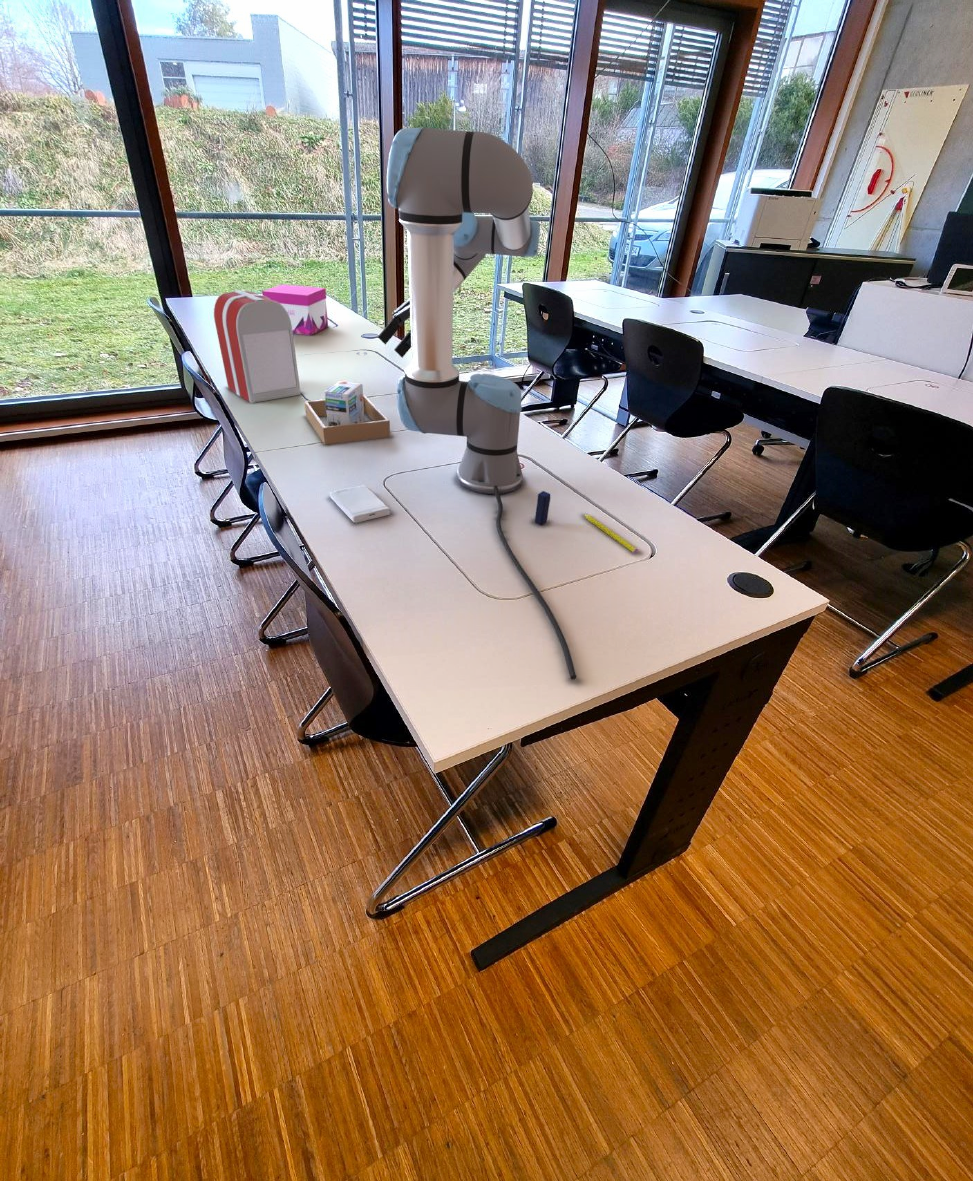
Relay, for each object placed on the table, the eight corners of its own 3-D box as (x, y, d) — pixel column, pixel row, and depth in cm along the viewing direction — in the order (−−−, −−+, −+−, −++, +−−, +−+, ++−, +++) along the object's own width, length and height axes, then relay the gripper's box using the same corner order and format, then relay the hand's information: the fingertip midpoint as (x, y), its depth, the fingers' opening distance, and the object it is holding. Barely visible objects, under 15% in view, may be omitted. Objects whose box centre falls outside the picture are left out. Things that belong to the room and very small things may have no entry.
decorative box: (268, 331, 242) (261, 291, 234) (288, 322, 258) (283, 284, 249) (311, 335, 240) (307, 295, 232) (329, 326, 256) (325, 288, 247)
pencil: (637, 552, 115) (638, 548, 114) (633, 553, 115) (634, 549, 114) (585, 516, 126) (586, 511, 126) (581, 516, 126) (582, 512, 125)
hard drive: (329, 491, 125) (353, 516, 117) (365, 484, 129) (390, 507, 121) (330, 498, 126) (353, 523, 118) (365, 490, 130) (390, 514, 122)
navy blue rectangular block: (539, 519, 124) (543, 489, 120) (547, 522, 123) (551, 493, 119) (533, 522, 122) (536, 493, 118) (541, 526, 121) (545, 496, 117)
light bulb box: (351, 435, 156) (347, 394, 149) (327, 431, 157) (323, 391, 150) (365, 421, 164) (363, 382, 158) (343, 418, 165) (339, 380, 159)
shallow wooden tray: (390, 436, 156) (389, 420, 154) (324, 445, 149) (322, 428, 147) (366, 410, 172) (365, 395, 169) (306, 417, 165) (304, 401, 162)
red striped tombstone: (250, 403, 171) (231, 302, 155) (226, 387, 181) (206, 291, 166) (302, 394, 180) (289, 298, 165) (276, 379, 191) (262, 287, 175)
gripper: (471, 303, 145) (415, 369, 148) (433, 285, 162) (384, 345, 165) (452, 279, 139) (395, 349, 142) (415, 263, 157) (365, 326, 160)
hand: (389, 347), depth 154 cm, fingers open, 13 cm apart
